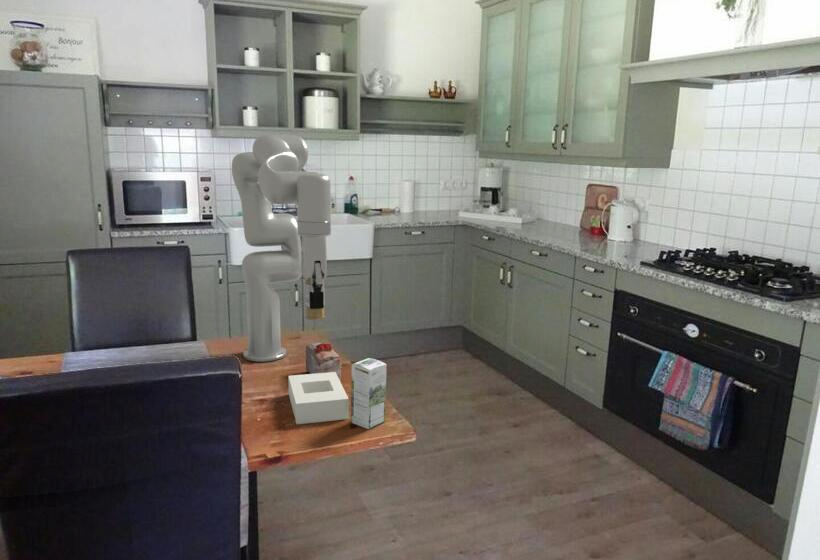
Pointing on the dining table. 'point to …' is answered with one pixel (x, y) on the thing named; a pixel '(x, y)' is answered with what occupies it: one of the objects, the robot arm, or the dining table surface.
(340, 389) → the socket block
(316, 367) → the food item
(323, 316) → the sprinkles bottle
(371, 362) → the syrup box
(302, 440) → the dining table surface
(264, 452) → the dining table surface
